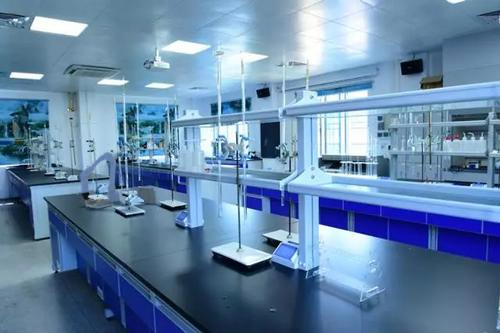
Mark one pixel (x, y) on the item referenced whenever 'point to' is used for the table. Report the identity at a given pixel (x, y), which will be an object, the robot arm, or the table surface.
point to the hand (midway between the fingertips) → (85, 201)
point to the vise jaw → (90, 201)
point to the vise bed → (100, 204)
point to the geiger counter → (146, 194)
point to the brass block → (99, 199)
